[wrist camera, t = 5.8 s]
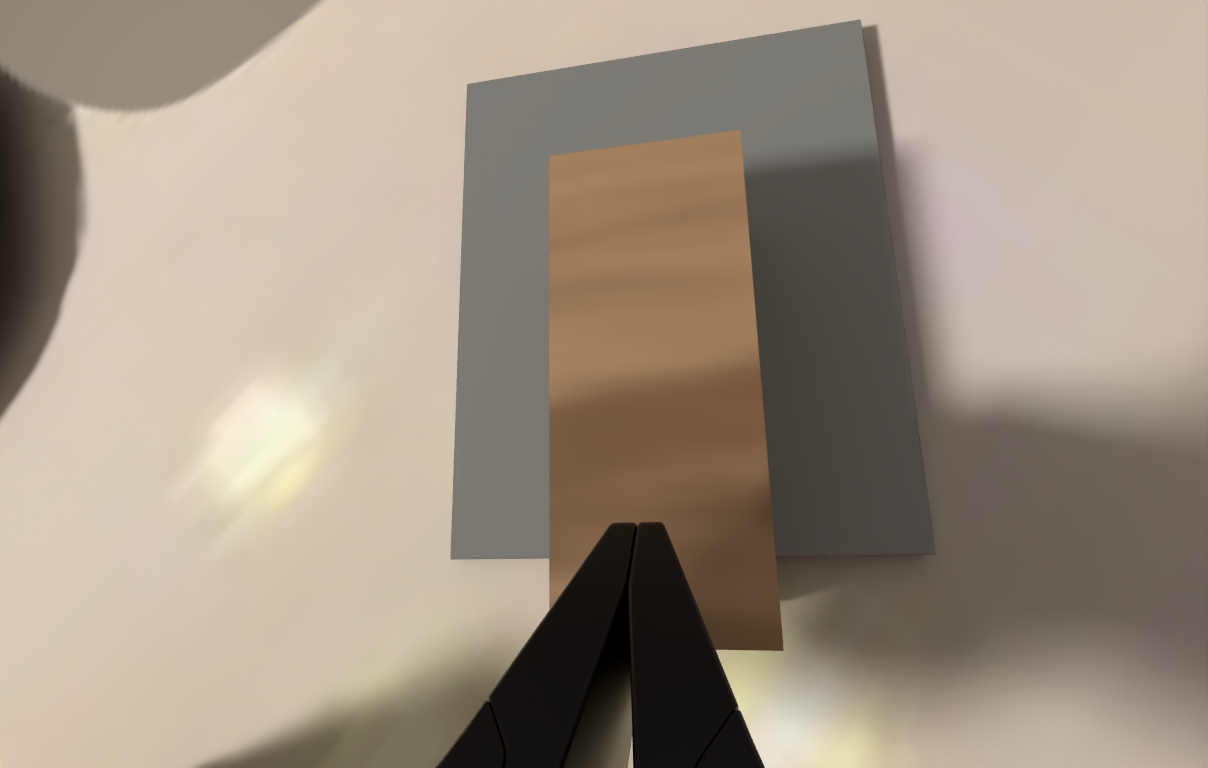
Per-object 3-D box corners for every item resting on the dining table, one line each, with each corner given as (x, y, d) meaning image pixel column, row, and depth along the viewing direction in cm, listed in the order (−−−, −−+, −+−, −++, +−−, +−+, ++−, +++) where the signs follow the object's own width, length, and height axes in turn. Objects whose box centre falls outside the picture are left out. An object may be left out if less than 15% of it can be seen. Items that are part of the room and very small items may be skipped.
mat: (927, 553, 15) (935, 554, 15) (459, 558, 18) (450, 559, 17) (856, 34, 19) (860, 19, 18) (473, 95, 21) (466, 84, 21)
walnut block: (783, 650, 11) (740, 129, 13) (549, 646, 12) (549, 156, 14) (766, 613, 15) (736, 223, 18) (595, 612, 16) (588, 239, 19)
